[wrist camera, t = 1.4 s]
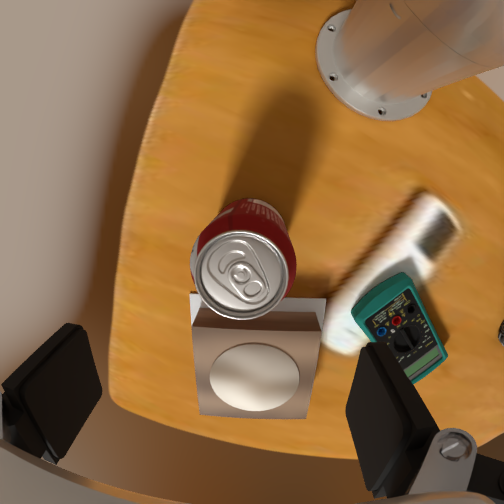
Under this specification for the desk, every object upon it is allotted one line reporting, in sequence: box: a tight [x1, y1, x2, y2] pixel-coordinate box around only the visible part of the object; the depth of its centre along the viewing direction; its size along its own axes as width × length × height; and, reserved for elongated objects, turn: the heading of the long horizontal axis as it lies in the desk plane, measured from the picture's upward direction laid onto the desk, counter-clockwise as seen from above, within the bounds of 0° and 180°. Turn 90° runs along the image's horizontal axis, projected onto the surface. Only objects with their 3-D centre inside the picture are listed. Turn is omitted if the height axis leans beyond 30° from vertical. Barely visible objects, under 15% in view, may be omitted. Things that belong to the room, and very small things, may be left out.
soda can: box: [190, 198, 296, 320], centre depth 23 cm, size 7×7×12 cm
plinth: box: [192, 308, 322, 419], centre depth 30 cm, size 12×12×4 cm
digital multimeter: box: [351, 272, 448, 384], centre depth 30 cm, size 7×15×3 cm, turn 39°
